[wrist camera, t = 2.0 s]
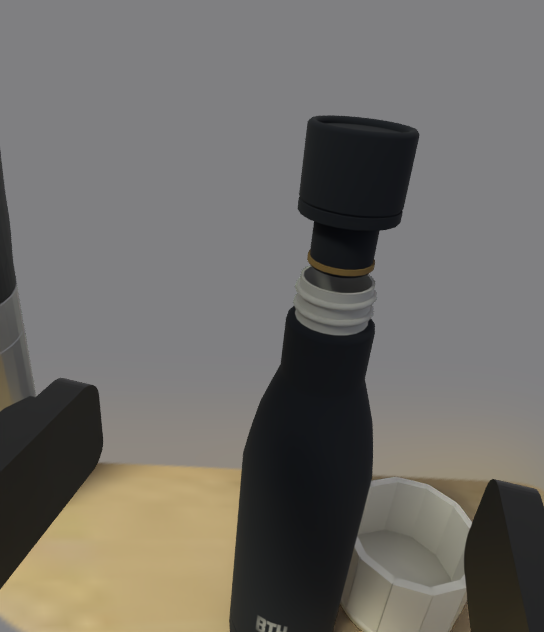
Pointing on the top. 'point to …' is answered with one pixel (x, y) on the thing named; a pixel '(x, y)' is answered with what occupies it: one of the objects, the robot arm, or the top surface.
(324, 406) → the black insulated water bottle
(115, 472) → the top surface
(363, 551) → the ceramic cup
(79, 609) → the top surface
